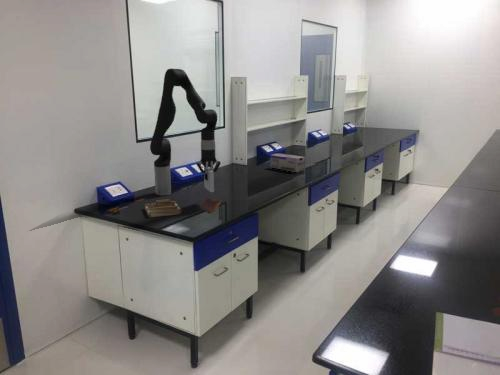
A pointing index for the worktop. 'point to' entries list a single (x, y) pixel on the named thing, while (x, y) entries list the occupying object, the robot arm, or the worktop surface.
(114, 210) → the decorative fence
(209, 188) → the pvc sheet
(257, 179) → the worktop surface
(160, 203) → the offcut upper
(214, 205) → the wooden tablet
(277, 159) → the surgical sutures box
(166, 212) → the rack
